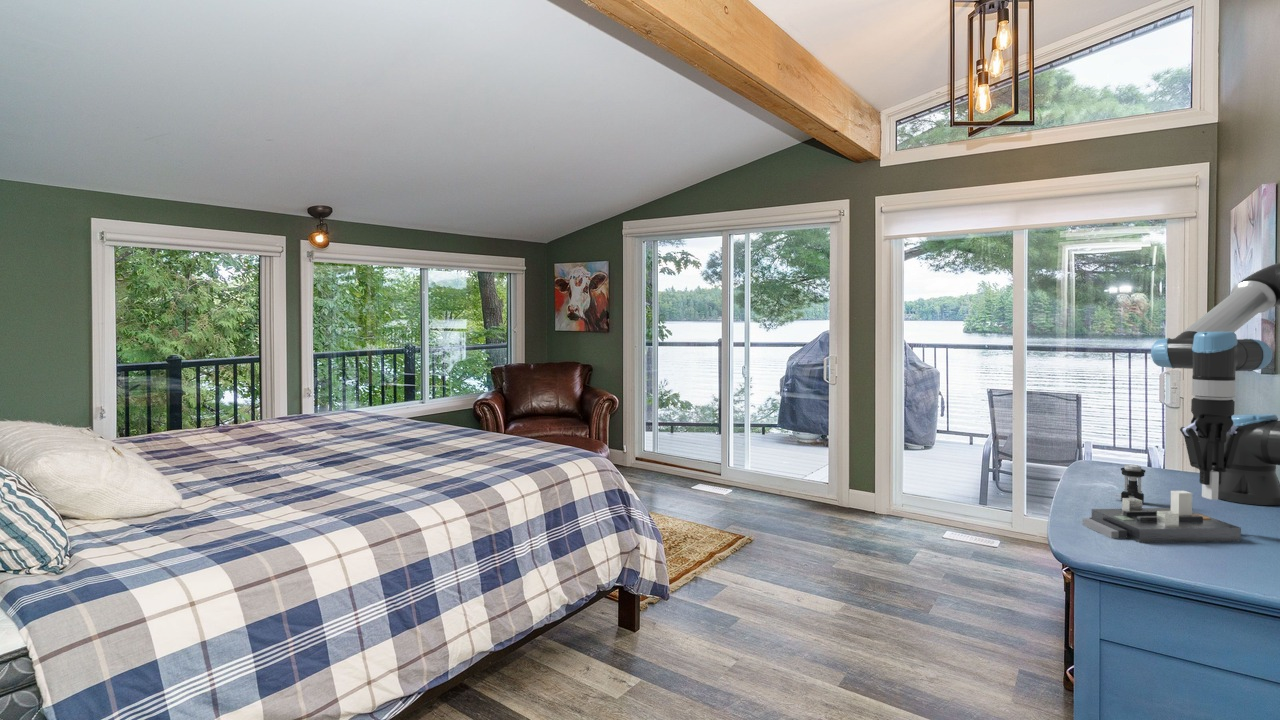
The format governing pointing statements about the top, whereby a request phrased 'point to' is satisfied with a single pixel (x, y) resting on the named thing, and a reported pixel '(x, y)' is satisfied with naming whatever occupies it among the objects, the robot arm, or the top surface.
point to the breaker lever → (1181, 502)
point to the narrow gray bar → (1105, 528)
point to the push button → (1132, 482)
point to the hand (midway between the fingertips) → (1209, 498)
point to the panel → (1171, 532)
